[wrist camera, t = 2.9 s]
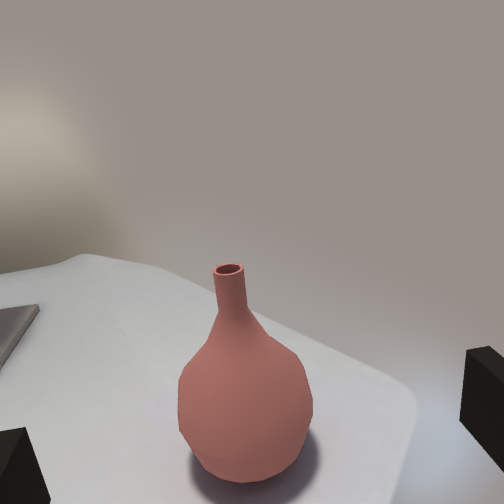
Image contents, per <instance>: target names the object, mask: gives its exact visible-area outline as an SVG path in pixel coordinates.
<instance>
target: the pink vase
mask: <svg viewBox="0 0 504 504" xmlns="http://www.w3.org/2000/svg"><path fill="white" fill-rule="evenodd" d="M213 276H214V283H215V289H216V296H217V303H218V309H219V312H218V314H217V317H216V319H215V322H214V324H213V327H212V329H211V332H210V334H209V337H208V339H207V342H206V343H205V344H204V345H203V346H202V347H201V349H200V350H199V351H198V352H197V353H196V354H195V356H194V357H193V358H192V359H191V360H190V361H189V363H188V364H187V365H186V366H185V367H184V369H183V372H182V374H181V376H180V379H179V381H178V423H179V430H180V432H181V434H182V435H183V437H184V438H185V440H186V441H187V443H188V445H189V446H190V448H191V449H192V451H193V452H194V454H195V455H196V457H197V458H198V460H199V461H200V463H201V464H202V466H203V467H204V469H205V470H207V471H208V472H210V473H212V474H213V475H215V476H216V477H218V478H220V479H223V480H228V481H233V482H238V483H246V482H255V481H263V480H265V479H267V478H270V477H272V476H274V475H276V474H279V473H281V472H283V471H284V470H285V469H286V468H287V467H288V466H289V465H290V464H291V463H292V462H294V461H295V460H296V458H297V456H298V454H299V452H300V450H301V448H302V446H303V444H304V441H305V438H306V435H307V431H308V428H309V425H310V422H311V419H312V416H313V398H312V394H311V391H310V387H309V384H308V380H307V377H306V373H305V370H304V367H303V365H302V363H301V361H300V360H299V358H298V356H297V355H296V354H295V353H293V352H292V351H291V350H289V349H288V348H286V347H285V346H284V345H282V344H281V343H279V342H278V341H276V340H275V339H274V338H272V337H271V336H269V335H268V334H267V333H266V332H265V330H264V329H263V327H262V326H261V325H260V323H259V322H258V321H257V319H256V318H255V317H254V315H253V314H252V313H251V311H250V310H249V309H248V306H247V298H246V288H245V278H244V269H243V266H242V265H240V264H237V263H226V264H222V265H219V266H216V267H215V268H214V269H213Z"/></svg>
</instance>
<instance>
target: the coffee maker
mask: <svg viewBox="0 0 504 504" xmlns="http://www.w3.org/2000/svg"><path fill="white" fill-rule="evenodd" d="M38 311H39V307H38V304H34V305H27V306H21V307H14V308H7V309H1V310H0V368H1V367H2V365H3V364H4V362H5V361H6V359H7V358H8V356H9V355H10V353H11V352H12V350H13V349H14V347H15V346H16V344H17V343H18V341H19V340H20V338H21V337H22V335H23V334H24V332H25V331H26V329H27V328H28V326H29V325H30V323H31V322H32V320H33V319H34V317H35V316H36V314H37V313H38Z"/></svg>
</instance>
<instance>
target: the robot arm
mask: <svg viewBox="0 0 504 504" xmlns="http://www.w3.org/2000/svg"><path fill="white" fill-rule="evenodd" d="M459 420H460V422H461V423H462V424H463V425H464V426H465V428H466V429H467V430H468V431H469V432H470V433H471V434H472V436H473V437H474V438H475V439H476V440H477V442H478V443H479V444H480V445H481V446H482V447H483V449H484V450H485V451H486V452H487V453H488V455H489V456H490V457H491V458H492V459H493V460H494V461H495V463H496V464H497V465H498V466H499V467H500V469H501V470H502V471H503V472H504V358H503V357H502V356H501V355H500V354H498V353H497V352H496V351H495V350H494V349H492V348H491V347H490V346H486V347H480V348H475V349H469V350H466V361H465V370H464V380H463V389H462V399H461V410H460V419H459ZM50 501H51V498H50V495H49V492H48V489H47V487H46V484H45V481H44V478H43V475H42V473H41V470H40V467H39V464H38V461H37V458H36V456H35V453H34V450H33V447H32V444H31V442H30V439H29V436H28V433H27V430H26V427H23V428H17V429H11V430H5V431H0V504H50Z"/></svg>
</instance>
